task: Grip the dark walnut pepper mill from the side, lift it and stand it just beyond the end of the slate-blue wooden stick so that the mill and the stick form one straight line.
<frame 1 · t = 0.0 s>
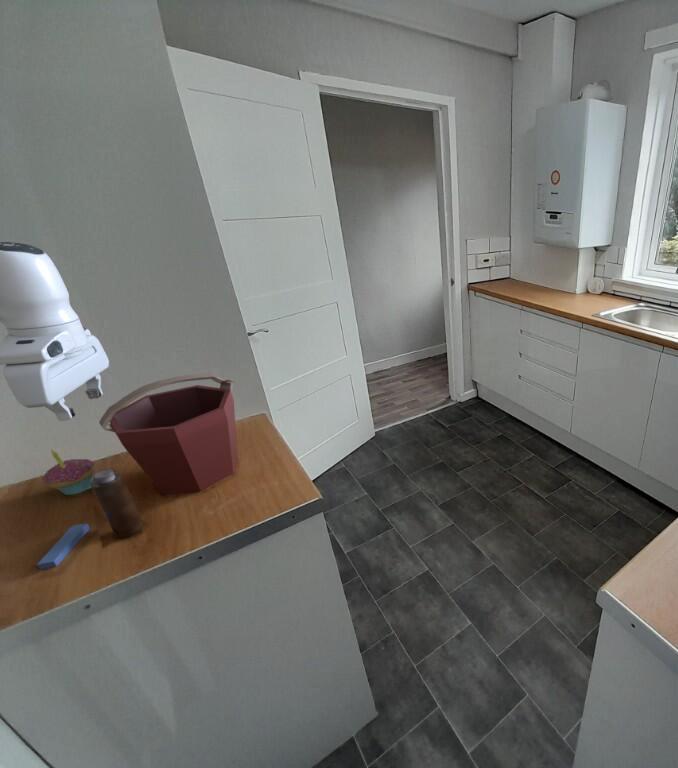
hand: (82, 407, 78), 25 cm above the counter, tool pointing down, fingers open, 8 cm apart
bucket: (200, 474, 100), on the counter
blue stick: (68, 552, 78), on the counter
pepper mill: (129, 530, 83), on the counter
cupcake: (79, 489, 94), on the counter
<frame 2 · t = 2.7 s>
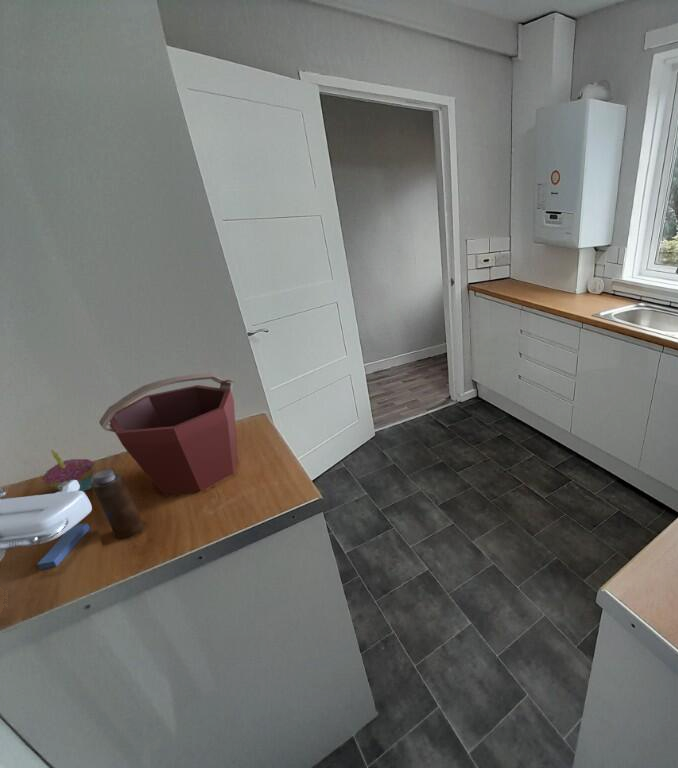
hand: (37, 487, 64), 20 cm above the counter, tool horizontal, fingers open, 8 cm apart
nothing on the counter moved.
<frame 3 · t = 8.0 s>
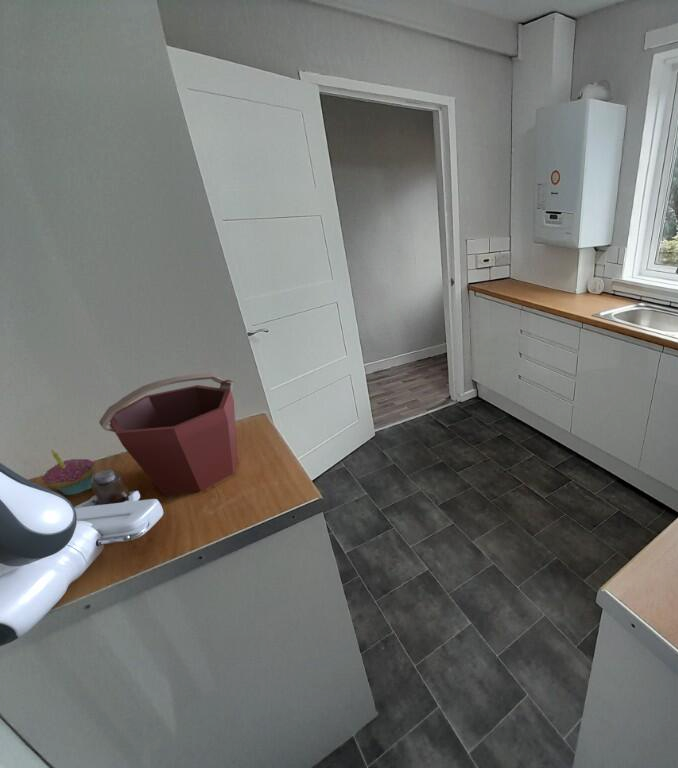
hand: (117, 495, 81), 8 cm above the counter, tool horizontal, fingers closed on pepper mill, 4 cm apart
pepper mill: (129, 530, 83), on the counter, touching gripper
everything else where it was.
when the fingers open (8 cm above the counter, at t = 14.9 s): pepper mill stays where it is, on the counter.
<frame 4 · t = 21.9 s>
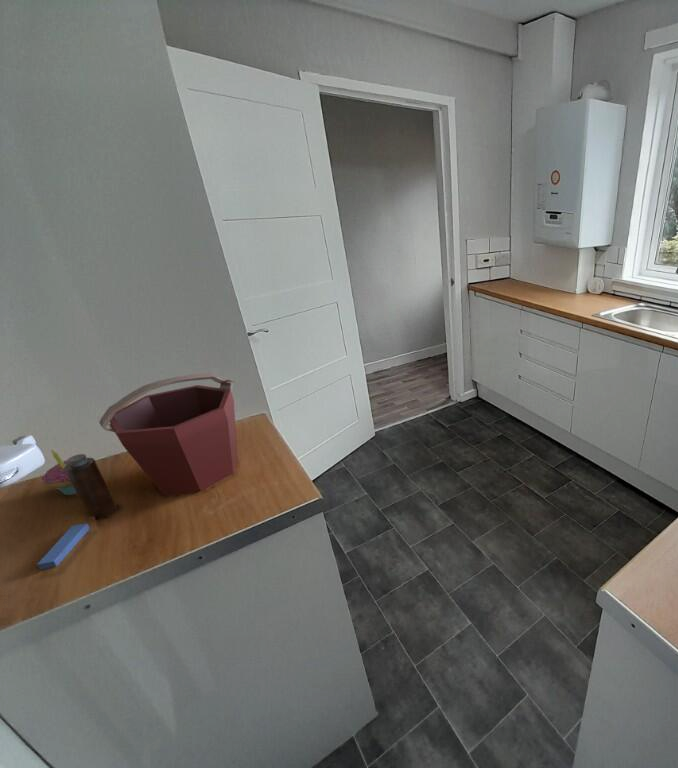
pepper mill: (103, 512, 88), on the counter
everything else where it was.
at the end: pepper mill 0.2 cm from the target spot on the counter beside the blue stick, on the counter; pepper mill tilted 0°; the gripper is holding nothing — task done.
